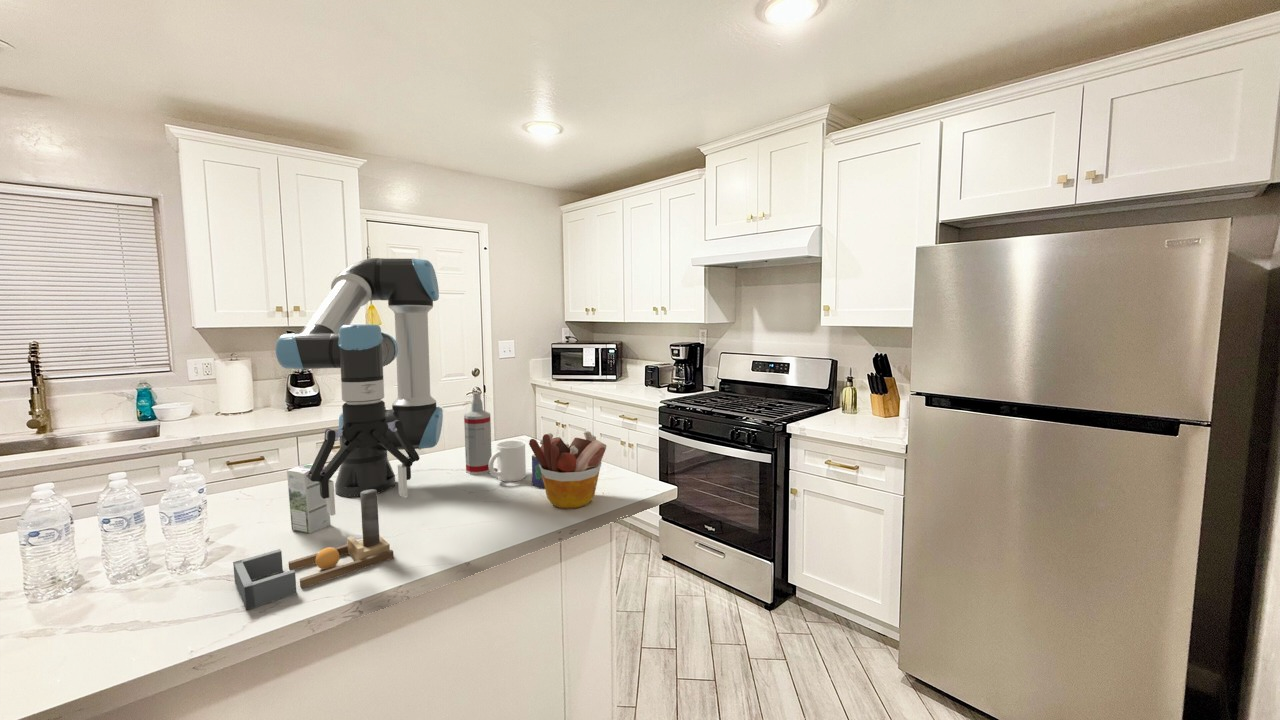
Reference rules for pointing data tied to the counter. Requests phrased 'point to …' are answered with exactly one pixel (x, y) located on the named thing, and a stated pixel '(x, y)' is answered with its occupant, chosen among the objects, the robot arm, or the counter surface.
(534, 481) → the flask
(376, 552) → the carriage
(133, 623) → the counter surface
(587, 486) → the bucket of meat
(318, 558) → the ball
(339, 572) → the rails
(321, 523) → the syrup box
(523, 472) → the mug
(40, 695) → the counter surface
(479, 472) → the spray bottle
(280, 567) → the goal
